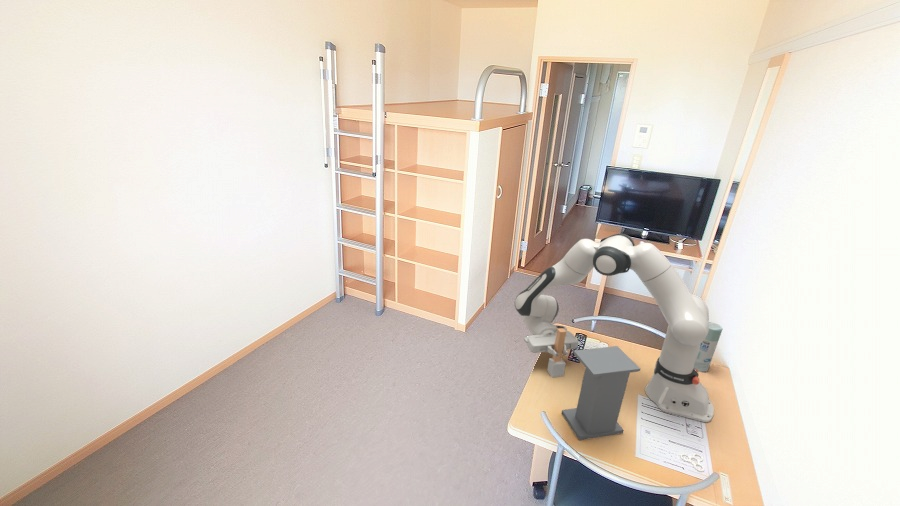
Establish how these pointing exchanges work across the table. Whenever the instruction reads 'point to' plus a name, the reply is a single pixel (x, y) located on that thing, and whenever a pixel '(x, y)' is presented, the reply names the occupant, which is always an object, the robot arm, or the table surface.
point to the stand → (600, 392)
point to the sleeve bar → (557, 363)
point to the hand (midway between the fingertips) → (561, 354)
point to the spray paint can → (708, 347)
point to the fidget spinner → (694, 462)
